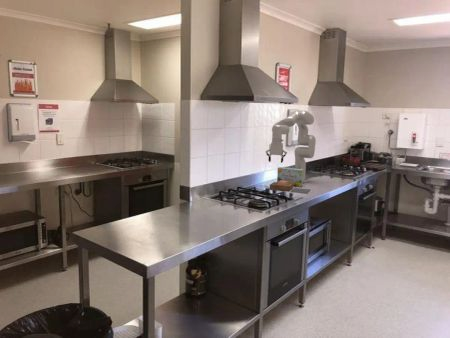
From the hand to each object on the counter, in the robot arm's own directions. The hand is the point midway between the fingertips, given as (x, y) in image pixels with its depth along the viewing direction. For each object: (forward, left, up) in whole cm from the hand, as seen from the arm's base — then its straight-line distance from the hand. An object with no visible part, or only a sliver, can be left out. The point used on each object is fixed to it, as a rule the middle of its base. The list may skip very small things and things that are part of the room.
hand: (275, 162), depth 295 cm
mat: (-1, +21, -22) cm, 30 cm away
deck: (-1, +5, -22) cm, 22 cm away
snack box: (-19, +8, -22) cm, 30 cm away
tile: (-1, +6, -18) cm, 19 cm away
